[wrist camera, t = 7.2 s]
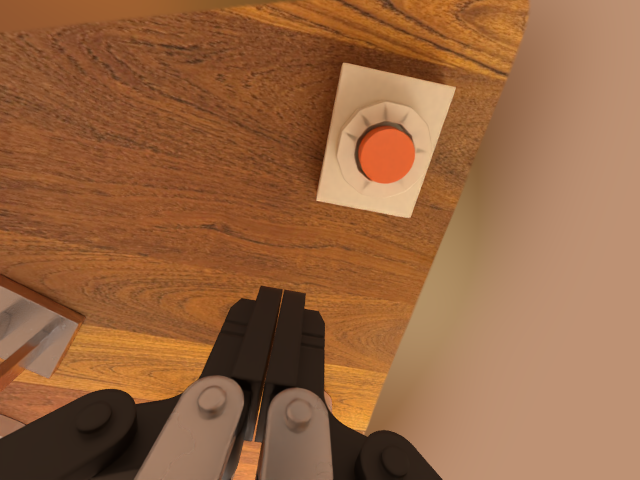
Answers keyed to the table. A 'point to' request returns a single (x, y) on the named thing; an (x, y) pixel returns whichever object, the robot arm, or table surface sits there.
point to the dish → (8, 425)
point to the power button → (386, 154)
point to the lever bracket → (32, 332)
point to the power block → (374, 111)
